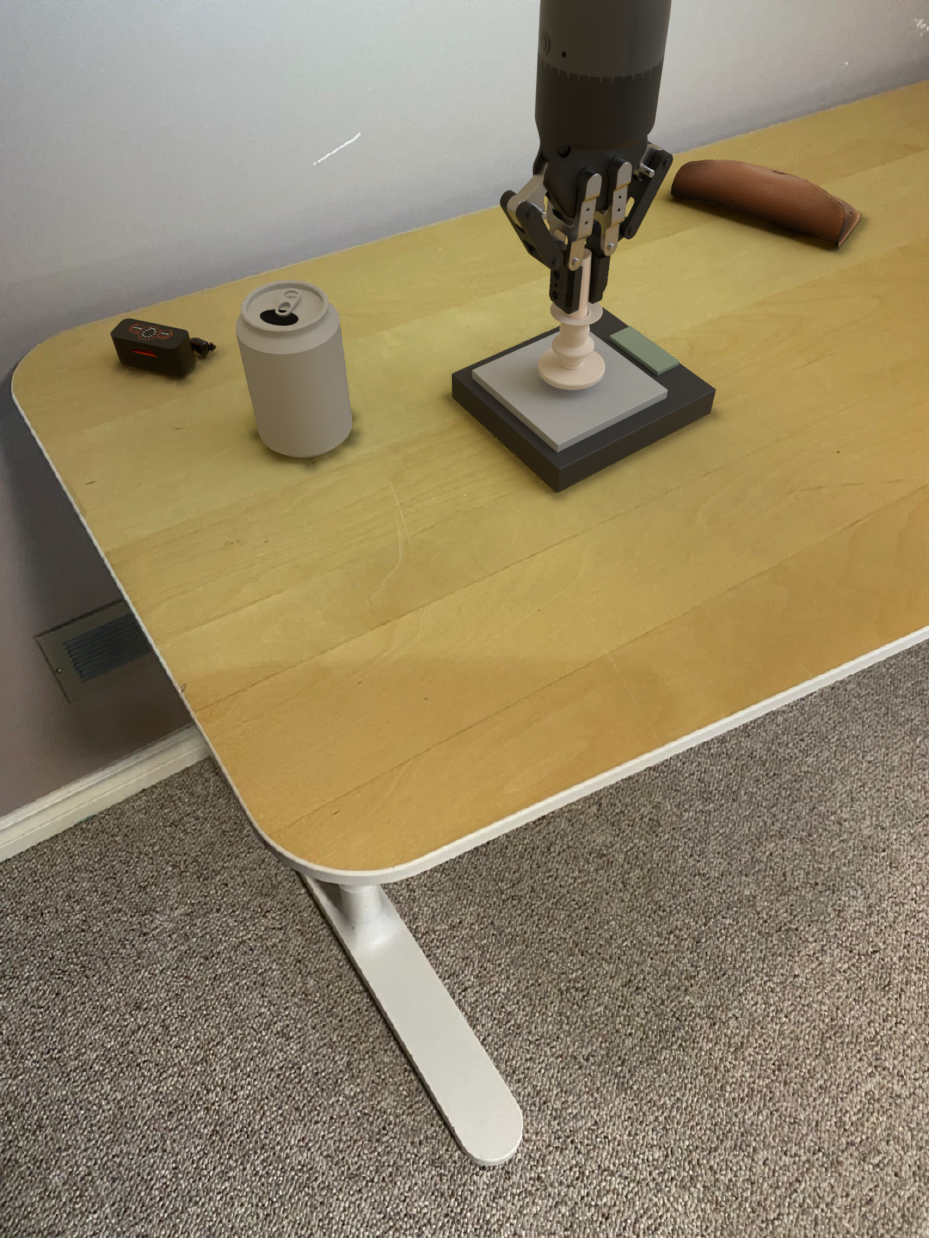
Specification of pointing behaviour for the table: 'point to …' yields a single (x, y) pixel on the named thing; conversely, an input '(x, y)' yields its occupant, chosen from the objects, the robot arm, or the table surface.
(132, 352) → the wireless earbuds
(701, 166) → the sunglasses case
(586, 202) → the robot arm
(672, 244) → the table surface
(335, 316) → the can
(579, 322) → the candle
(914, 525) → the table surface
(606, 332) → the scale
